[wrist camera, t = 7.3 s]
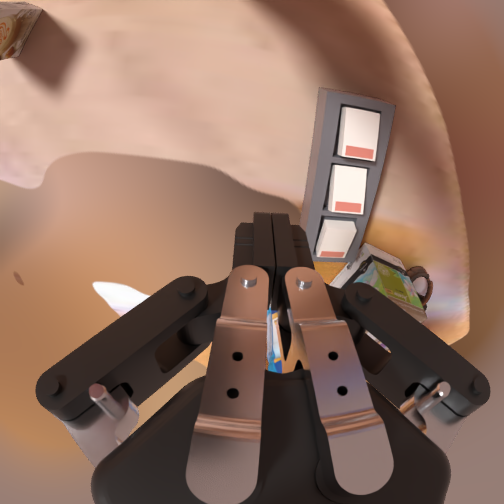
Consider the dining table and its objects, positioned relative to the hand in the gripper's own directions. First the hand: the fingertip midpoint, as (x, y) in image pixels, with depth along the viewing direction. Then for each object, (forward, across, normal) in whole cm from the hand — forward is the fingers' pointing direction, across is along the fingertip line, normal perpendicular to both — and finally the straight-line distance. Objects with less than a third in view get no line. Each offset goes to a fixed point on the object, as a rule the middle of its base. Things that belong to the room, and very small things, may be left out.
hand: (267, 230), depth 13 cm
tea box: (+27, -21, +28) cm, 44 cm away
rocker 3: (+22, -12, +16) cm, 30 cm away
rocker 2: (+22, -12, +8) cm, 27 cm away
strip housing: (+27, -12, +8) cm, 31 cm away
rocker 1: (+22, -12, 0) cm, 26 cm away
